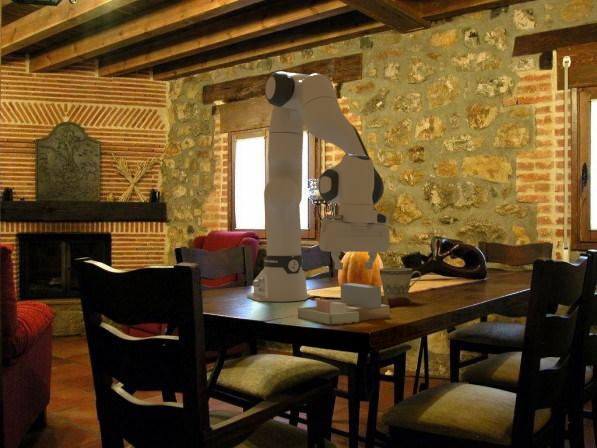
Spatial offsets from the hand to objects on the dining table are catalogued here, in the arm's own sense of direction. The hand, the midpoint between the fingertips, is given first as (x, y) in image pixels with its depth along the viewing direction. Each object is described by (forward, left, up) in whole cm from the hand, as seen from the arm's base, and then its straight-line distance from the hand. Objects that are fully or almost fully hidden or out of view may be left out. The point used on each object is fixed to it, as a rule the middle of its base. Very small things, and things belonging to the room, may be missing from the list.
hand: (353, 269), depth 158 cm
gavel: (-9, +20, -13) cm, 25 cm away
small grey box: (+1, +1, -9) cm, 9 cm away
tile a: (-3, -7, -10) cm, 12 cm away
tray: (+1, -9, -12) cm, 15 cm away
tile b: (+4, -7, -10) cm, 13 cm away
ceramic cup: (-17, +31, -12) cm, 37 cm away
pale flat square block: (+1, +1, -12) cm, 12 cm away
